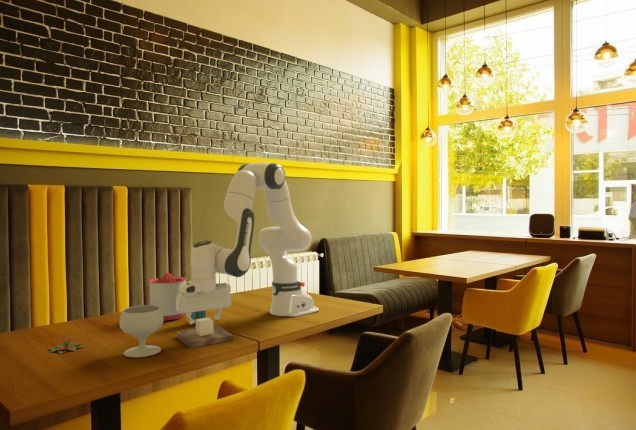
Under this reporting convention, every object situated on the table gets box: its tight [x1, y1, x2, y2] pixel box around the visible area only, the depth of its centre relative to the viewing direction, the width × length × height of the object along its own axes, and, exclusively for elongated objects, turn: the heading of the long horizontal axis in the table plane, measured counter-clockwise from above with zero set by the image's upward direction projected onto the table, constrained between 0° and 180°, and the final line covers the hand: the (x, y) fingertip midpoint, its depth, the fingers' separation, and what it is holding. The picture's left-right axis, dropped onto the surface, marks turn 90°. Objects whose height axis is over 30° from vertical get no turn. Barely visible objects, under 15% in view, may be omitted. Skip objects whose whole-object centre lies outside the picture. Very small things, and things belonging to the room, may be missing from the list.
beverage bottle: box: [190, 310, 207, 323], centre depth 201 cm, size 6×7×20 cm
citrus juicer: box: [148, 272, 187, 322], centre depth 211 cm, size 16×17×20 cm
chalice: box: [119, 304, 164, 358], centre depth 163 cm, size 14×14×15 cm
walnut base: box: [176, 325, 234, 349], centre depth 179 cm, size 16×16×2 cm
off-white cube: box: [195, 317, 214, 336], centre depth 179 cm, size 5×5×5 cm
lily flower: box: [49, 336, 85, 355], centre depth 169 cm, size 12×12×5 cm
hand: (204, 322), depth 179 cm, fingers open, 8 cm apart
